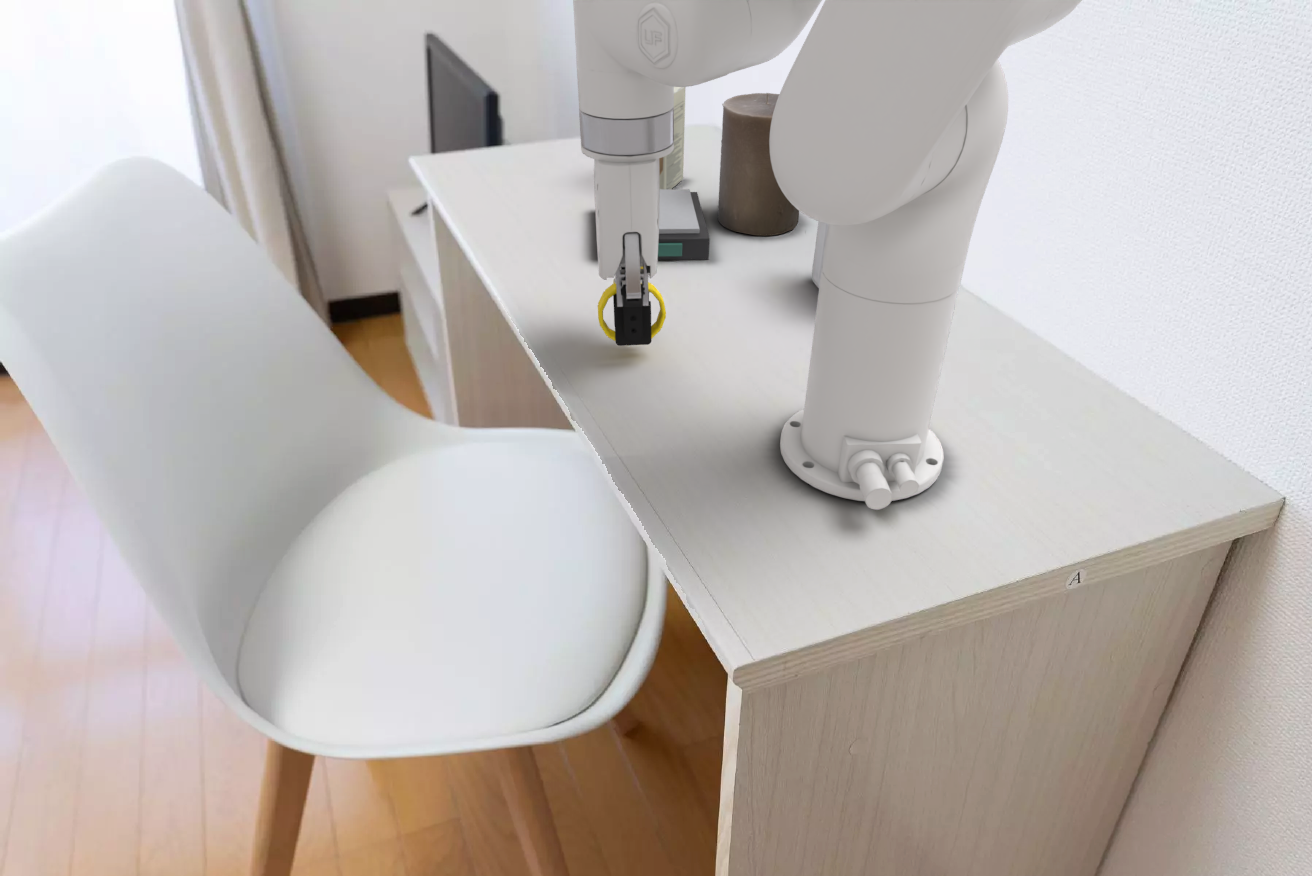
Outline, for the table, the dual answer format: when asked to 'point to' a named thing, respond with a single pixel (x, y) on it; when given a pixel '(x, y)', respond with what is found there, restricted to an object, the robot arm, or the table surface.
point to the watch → (612, 290)
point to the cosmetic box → (675, 146)
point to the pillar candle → (751, 170)
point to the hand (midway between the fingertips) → (632, 334)
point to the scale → (681, 226)
